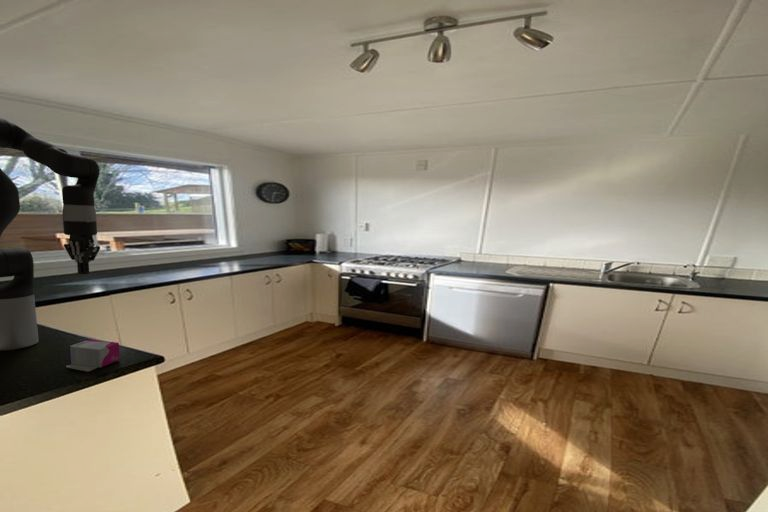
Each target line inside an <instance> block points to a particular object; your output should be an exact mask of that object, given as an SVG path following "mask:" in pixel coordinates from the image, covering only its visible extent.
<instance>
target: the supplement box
mask: <svg viewBox="0 0 768 512" xmlns="http://www.w3.org/2000/svg"><path fill="white" fill-rule="evenodd" d="M68 355H69V357H68V358H69V365H71V364H76V365H85V366H93V367H99V368H102V367H105V366H108V365H110V364H113V363H115V362H117V361H119V360H121V358H120V355H121V354H120V343H119V342H118V341H117V342H114V341H106V340H96V339H85V340H83V341H79V342H76V343H74V344H71V345H68Z"/></svg>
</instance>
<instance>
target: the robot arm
mask: <svg viewBox="0 0 768 512" xmlns="http://www.w3.org/2000/svg"><path fill="white" fill-rule="evenodd" d="M0 148H1V149H10V150H14V151H15V150H17V151H21V152H23V154H24V155H25V156H26V157H27V158H29V159H31V160H32V161H34V162H36V163H39V164H41V165H43V166H45V167H47V168H48V169H49V170H51V171H52V172H53V173H55V174H57V175H60V176H63V177H67V178H73V179H77V180H76V183H75V184H71V185H65V186H63V187H62V188H61V189H62V190H61V195H62V197H61V198H62V226H63V227H62V228H63V234H64V235H66V236H69V239H68V243H64V244H63V247H64V248H65V251H66V253H67V254H68V256H69V257H70V259H71V261H74V262H75V263H76V267H77V274H78V275H88V274H90V264H89V263H90V262H91V261H94V260H95V259H96V257H97V255H98V253H99V251H100V250H101V247H100V245H96V244H94V243H95V240H94V237H93V236H96V235H97V234H98V226H97V223H98V222H97V212H96V208H95V197H94V193H95V191H96V186H97V184H98V181H99V177H100V167H99V164H98V162H97V161H96V160H94V159H93V158H92V157H89V156H85V155H79V154H73V153H69V152H68V151H67V150H66V149H64V148H62V147H60V146H57V145H56V144H53V143H51V142H49V141H46V140H43V139H41V138H38V137H36V136H34V135H33V134H32V133H30V132H28V131H26V130H25V129H24V128H22V127H21V126H19V125H17V124H16V123H14V122H12V121H10V120H8V119H5V118H1V117H0ZM20 210H21V201H20V193H19V189H18V187H17V185H16V184H15V183H14V182H13V180H12V179H11V178H10V177H9V176H8V175H7V174H6V173H5V172H4V170H3V169H2V168H1V167H0V238H1V236H2V234H3V233H4V231H5V230H6V229H7V227H8V226H9V225H10V224H11V223H12V222H13V221H14V219H15V218H16V217H17V215H18V214H19V213H20ZM32 254H33V253H31V251H30V250H29V249H27V248H23V247H22V248H20V247H19V248H0V278H9V277H13V278H12V279H11V280H10V281H9V282H7V283H5V284H2V285H0V351H13V350H18V349H22V348H27V347H31V346H33V345H35V344H38V343H39V341H40V340H39V331H38V321H37V319H38V318H37V312H36V311H37V310H36V303H35V301H36V300H35V292H34V291H35V290H34V289H35V274H34V273H35V271H34V270H35V268H34V267H35V265H34V258H33V255H32Z"/></svg>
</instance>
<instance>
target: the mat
mask: <svg viewBox="0 0 768 512" xmlns="http://www.w3.org/2000/svg"><path fill="white" fill-rule="evenodd" d="M65 367H66V368H68V369H73V370H78V371H83V372H87V373H88V372H91V371H93V370H96V369H98V368H100V367H93V366H85V365H76V364H68V365H66V366H65Z"/></svg>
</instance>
